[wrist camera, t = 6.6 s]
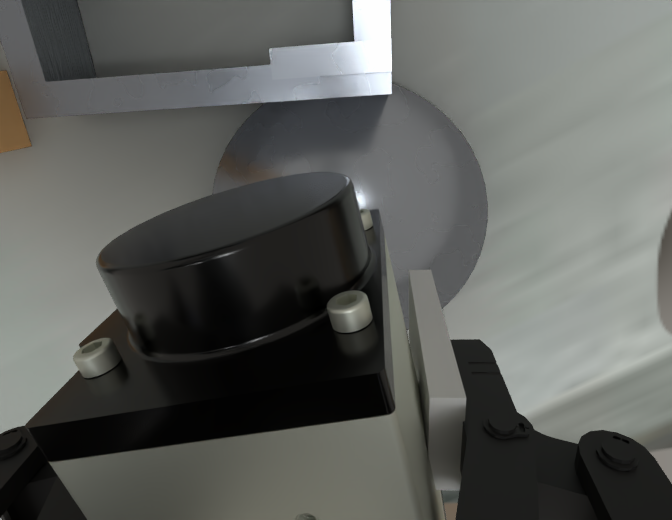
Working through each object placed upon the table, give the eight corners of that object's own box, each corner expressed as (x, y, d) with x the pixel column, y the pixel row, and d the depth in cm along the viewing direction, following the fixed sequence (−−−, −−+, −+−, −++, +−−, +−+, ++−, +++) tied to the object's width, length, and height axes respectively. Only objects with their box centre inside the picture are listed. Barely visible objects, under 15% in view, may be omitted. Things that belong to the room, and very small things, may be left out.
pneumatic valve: (367, 124, 14) (348, 307, 3) (429, 404, 18) (511, 895, 7) (211, 164, 15) (-222, 413, 4) (304, 422, 19) (213, 881, 8)
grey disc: (193, 60, 23) (153, 57, 19) (492, 36, 21) (521, 28, 17) (244, 346, 30) (222, 390, 25) (472, 343, 28) (489, 391, 24)
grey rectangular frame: (25, -79, 21) (-49, -111, 17) (385, -122, 19) (387, -167, 15) (79, 111, 24) (26, 118, 21) (389, 90, 22) (391, 94, 19)
